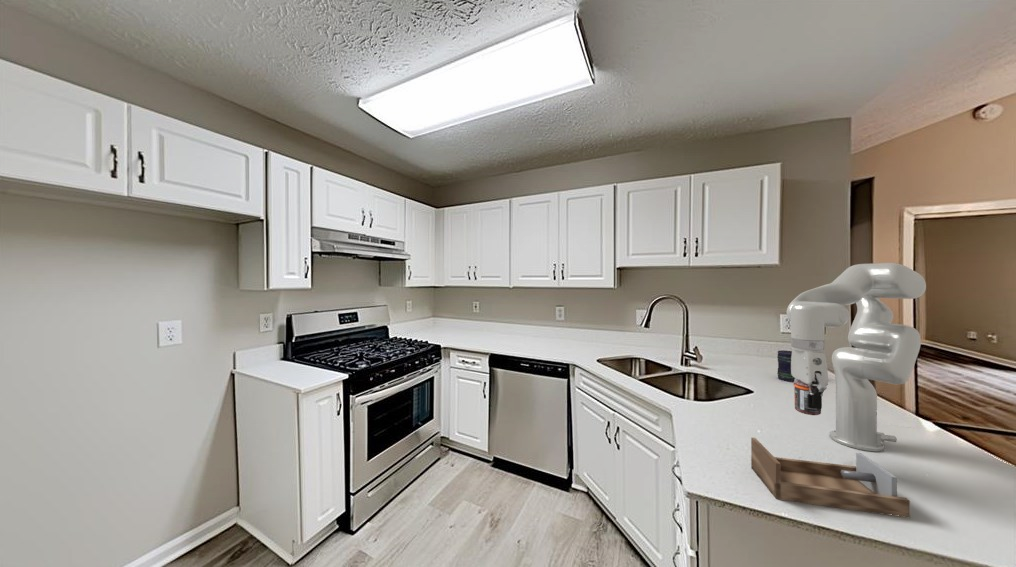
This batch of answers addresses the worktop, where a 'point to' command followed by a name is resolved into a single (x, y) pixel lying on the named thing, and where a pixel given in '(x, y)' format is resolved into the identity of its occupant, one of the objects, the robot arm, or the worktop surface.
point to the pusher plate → (872, 476)
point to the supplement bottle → (803, 398)
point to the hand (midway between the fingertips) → (807, 403)
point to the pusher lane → (820, 484)
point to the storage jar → (784, 366)
